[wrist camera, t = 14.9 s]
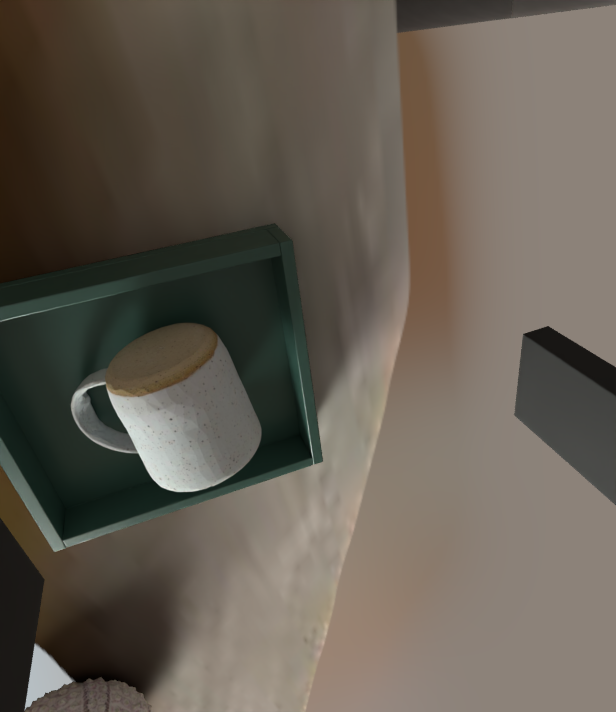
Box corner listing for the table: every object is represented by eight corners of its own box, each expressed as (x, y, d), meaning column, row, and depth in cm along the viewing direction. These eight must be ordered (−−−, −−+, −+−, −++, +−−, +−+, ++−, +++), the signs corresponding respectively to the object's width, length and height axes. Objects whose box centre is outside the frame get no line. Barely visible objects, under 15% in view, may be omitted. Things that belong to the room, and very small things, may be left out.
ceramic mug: (207, 300, 32) (228, 358, 25) (249, 395, 36) (275, 464, 30) (45, 364, 30) (24, 441, 24) (109, 454, 35) (106, 539, 29)
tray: (275, 222, 32) (292, 239, 29) (307, 432, 41) (323, 461, 38) (-63, 297, 27) (-86, 326, 24) (58, 511, 37) (53, 552, 34)
